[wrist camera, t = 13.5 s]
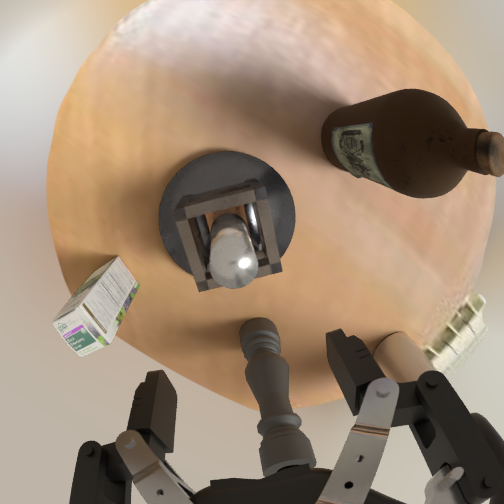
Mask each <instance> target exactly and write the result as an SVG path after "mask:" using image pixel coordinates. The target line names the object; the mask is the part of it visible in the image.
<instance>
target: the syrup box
mask: <svg viewBox="0 0 504 504" xmlns="http://www.w3.org/2000/svg"><path fill="white" fill-rule="evenodd" d="M138 288H139V284H138V282H137V281H136V280H135V278H134V277H133V276H132V274H131V273H130V271H129V270H128V269H127V267H126V266H125V264H124V263H123V262H122V260H121V259H120V257H119V256H117V257H115V258H114V259H112V260H111V261H109V262H108V263H106V264H105V265H103V266H102V267H100V268H99V269H97V270H96V271H94V272H93V273H92V274H91V275H90V276H89V277H88V278H87V280H86V281H85V282H84V283H83V284H82V285H81V287H80V288H79V289H78V290H77V291H76V292H75V293H74V295H73V296H72V297H71V298H70V300H69V301H68V302H67V303H66V305H65V306H64V307H63V308H62V310H61V311H60V312H59V313H58V315H57V316H56V317H55V319H54V320H53V321H52V324H53V326H54V327H55V328H56V330H57V331H58V333H59V334H60V335H61V337H62V338H63V339H64V341H65V342H66V343H67V344H68V345H69V346H70V347H71V348H72V349H73V350H74V351H75V352H76V353H77V354H78V355H79V356H80V357H83V356H85V355H87V354H89V353H92V352H94V351H96V350H98V349H100V348H102V347H104V346H107V345H109V344H111V342H112V340H113V338H114V336H115V334H116V332H117V330H118V328H119V326H120V324H121V322H122V320H123V317H124V315H125V313H126V311H127V309H128V307H129V305H130V303H131V301H132V299H133V298H134V296H135V294H136V292H137V290H138Z"/></svg>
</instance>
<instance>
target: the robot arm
mask: <svg viewBox="0 0 504 504" xmlns="http://www.w3.org/2000/svg"><path fill="white" fill-rule="evenodd" d="M326 346H327V357H328V362H329V365H330V367H331V369H332V371H333V373H334V376H335V378H336V380H337V382H338V384H339V386H340V388H341V390H342V392H343V395H344V397H345V399H346V401H347V403H348V405H349V407H350V409H351V412H352V413H353V416H356V415H358V417H357V420H356V422H355V425H354V426H353V427H352V428H351V430H350V433H349V435H348V438H347V441H346V442H345V445H344V447H343V450H342V452H341V454H340V456H339V459H338V461H337V463H336V465H335V467H334V469H333V470H330V469H324V468H310V466H309V463H307V464H303V465H299V466H295V467H291V468H287V469H283V470H281V471H279V472H276V473H274V474H272V475H270V476H267V477H265V478H262V479H241V478H229V479H219V480H211V481H210V485H211V486H208V487H206V488H204V489H202V490H200V491H198V492H197V493H196V492H195V491H194V490H193V489H192V488H190V487H189V486H188V485H187V484H186V483H185V482H184V480H183V479H182V478H181V477H180V476H179V475H178V474H177V473H176V471H175V470H174V469H173V468H172V467H171V465H170V464H169V463H168V462H167V461H166V460H165V453H173V448H174V432H175V420H176V408H177V394H176V391H175V389H174V387H173V385H172V384H171V382H170V381H169V379H168V377H167V375H166V374H165V372H164V371H163V370H157V371H150V372H148V373H147V376H146V379H145V382H142V383H140V385H139V386H138V388H137V389H136V391H135V395H134V400H133V403H132V408H131V413H130V417H129V421H128V426H127V430H126V431H124V432H122V433H121V434H120V435H119V436H118V437H117V439H116V442H113V443H110V444H106V445H103V446H101V445H100V444H99V443H98V442H96V441H87V442H85V443H84V444H83V445H82V446H81V447H80V449H79V452H78V457H77V462H76V467H75V472H74V478H73V483H72V489H71V496H70V503H69V504H131V486H132V485H131V484H132V481H133V483H134V485H135V486H136V488H137V489H138V491H139V492H140V494H141V495H142V496H143V498H144V499H145V501H146V502H147V504H406V503H403V502H400V501H398V500H396V499H393V498H390V497H388V496H386V495H384V494H381V493H379V492H377V491H375V490H373V489H370V487H371V485H372V482H373V479H374V477H375V474H376V472H377V469H378V466H379V463H380V460H381V457H382V455H383V452H384V448H385V445H386V442H387V439H388V435H389V430H390V427H397V426H403V425H409V427H410V429H411V431H412V433H413V435H414V437H415V439H416V441H417V444H418V446H419V448H420V450H421V452H422V454H423V456H424V458H425V461H426V463H427V465H428V467H429V469H430V472H431V474H432V476H433V477H432V478H431V479H430V480H429V482H428V483H427V485H426V488H425V496H426V501H425V504H481V503H483V502H484V501H486V500H488V499H489V498H490V503H489V504H504V441H503V439H502V438H501V436H500V435H499V434H498V433H497V431H496V430H495V429H494V427H493V426H492V425H491V424H490V423H489V422H488V420H487V419H486V418H484V417H483V416H482V415H480V414H478V413H471V414H470V413H469V411H468V409H467V408H466V406H465V405H464V403H463V402H462V400H461V399H460V398H459V396H458V394H457V393H456V392H455V390H454V388H453V387H452V386H451V384H450V383H449V381H448V380H447V378H446V377H445V376H444V375H443V374H442V373H441V372H439V371H437V369H436V368H435V367H434V365H433V364H432V363H431V361H430V360H429V359H428V358H427V357H426V355H425V354H424V353H423V352H422V351H421V349H420V348H419V347H418V346H417V345H416V343H415V342H414V341H413V340H412V339H411V338H410V337H409V336H408V335H407V334H406V333H404V332H397V333H394V334H392V335H390V336H388V337H387V338H385V339H384V340H383V341H382V342H381V343H380V344H379V345H378V347H377V348H376V350H375V352H374V355H373V356H372V355H371V353H370V352H369V350H368V349H367V347H366V346H365V344H364V343H363V341H362V340H361V339H359V338H357V337H356V336H354V335H353V336H350V337H346V335H345V334H344V332H343V330H342V329H337V330H334V331H331V332H328V333H326Z"/></svg>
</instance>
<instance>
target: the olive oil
mask: <svg viewBox="0 0 504 504" xmlns="http://www.w3.org/2000/svg"><path fill="white" fill-rule="evenodd" d="M321 140H322V146H323V149H324V152H325V154H326V156H327V157H328V159H329V160H330V161H331V162H332V163H333V164H334V165H335V166H336V167H338V168H339V169H341V170H344V171H347V172H350V173H351V174H352V175H353V176H355V177H357V178H361V177H364V178H366V179H369V180H371V181H374V182H376V183H379V184H381V185H383V186H386V187H388V188H390V189H393V190H395V191H397V192H399V193H401V194H404V195H407V196H410V197H414V198H433V197H438V196H442V195H444V194H446V193H448V192H449V191H451V190H452V189H453V188H455V187H456V186H457V184H458V183H459V182H460V181H461V179H462V178H463V177H464V175H465V174H466V172H467V171H468V170H469V171H472V172H476V173H480V174H483V175H488V174H490V175H492V176H496V177H500V176H502V175H503V174H504V137H503V136H502V135H501V134H500V133H498V132H489V131H487V130H485V129H473V128H467V127H466V125H465V123H464V122H463V120H462V119H461V117H460V116H459V114H458V113H457V111H456V110H455V109H454V108H453V107H452V106H451V105H450V104H449V103H448V102H447V101H446V100H444V99H443V98H441V97H440V96H438V95H436V94H433V93H431V92H427V91H424V90H419V89H403V90H399V91H395V92H392V93H389V94H386V95H382V96H379V97H376V98H373V99H370V100H367V101H364V102H360V103H357V104H354V105H351V106H347V107H344V108H341V109H338V110H336V111H335V112H333V113H332V114H331V115H330V116H329V117H328V118H327V119H326V121H325V123H324V125H323V128H322V134H321Z"/></svg>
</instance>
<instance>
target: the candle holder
mask: <svg viewBox="0 0 504 504" xmlns="http://www.w3.org/2000/svg"><path fill="white" fill-rule="evenodd" d="M239 333H240V340H241V347H242V351H243V353H244V357H245V358H246V359H247V361H248V364H247V367H246V369H245V375H246V380H247V382H248V384H249V386H250V388H251V390H252V392H253V394H254V396H255V398H256V400H257V402H258V404H259V408H260V413H261V420H260V422H259V423H258V425H257V428H258V433H259V434H261V435H262V436H263V440H262V442H261V447H260V448H259V453H260V458H261V464H262V470H263V475H264V476H265V477H267V476H270V475H272V474H274V473H276V472H279V471H281V470H283V469H287V468H291V467H295V466H299V465H303V464H307V463H309V466H310V468H314V467H315V466H316V459H315V456H314V453H313V449H312V446H311V443H310V440H309V439H308V438H307V437H306V436H305V434H304V433H303V432H302V431H300V430H299V429H298V428H299V427H300V426H301V418H300V417H299V416H298V415H297V414H295V413H293V411H292V407H291V404H290V400H289V367H288V364H287V363H286V361H285V360H284V358H283V357H281V356H280V355H279V354H280V352H281V347H280V337H279V334H278V331H277V328H276V326H275V324H274V323H273V322H272V321H270V320H269V319H266V318H261V317H260V318H253V319H251V320H249V321H247V322H246V323H245V324H244V325H243V326H242V327H241V330H240V332H239Z"/></svg>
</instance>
